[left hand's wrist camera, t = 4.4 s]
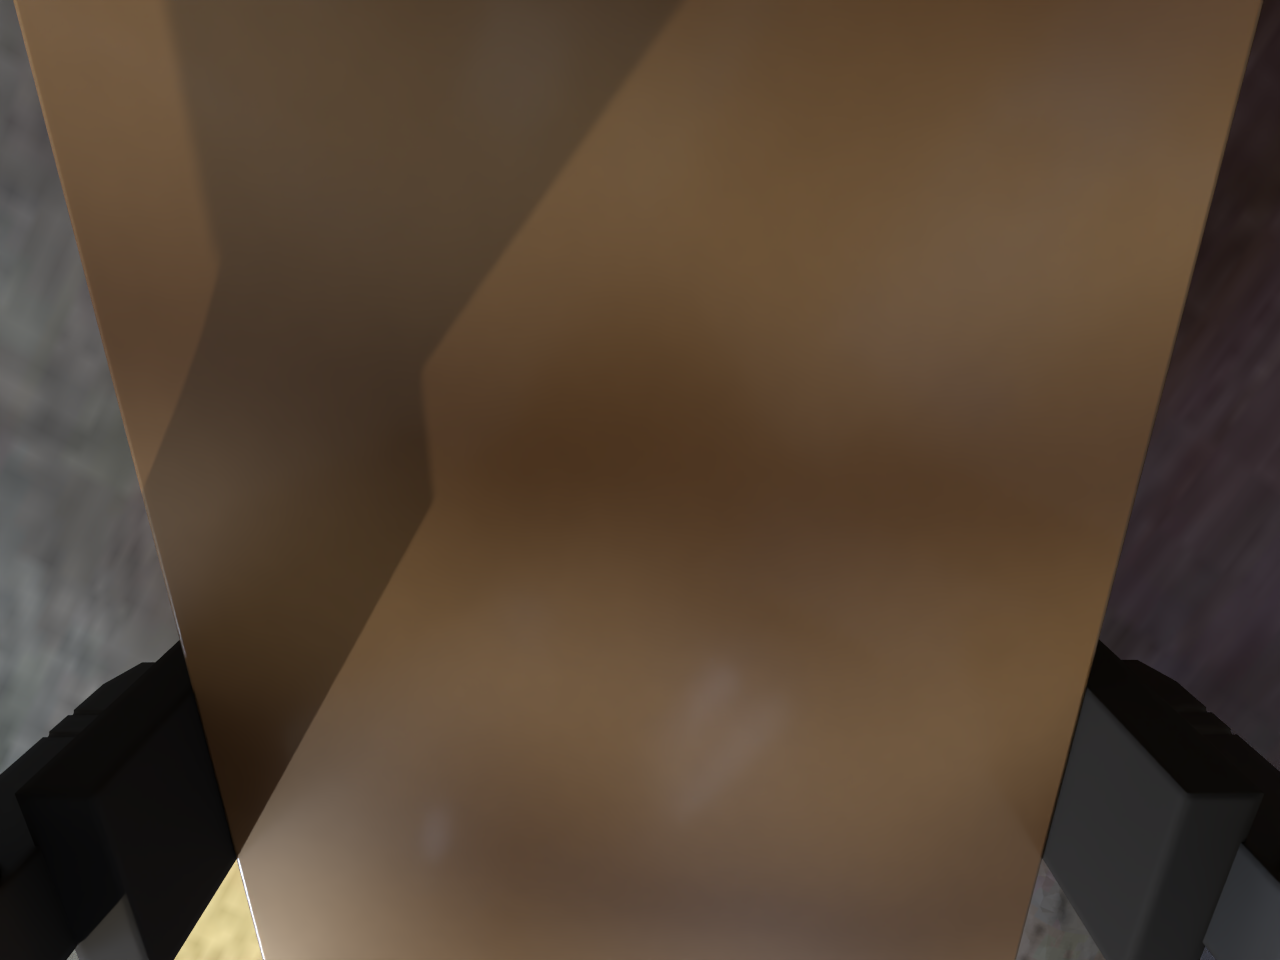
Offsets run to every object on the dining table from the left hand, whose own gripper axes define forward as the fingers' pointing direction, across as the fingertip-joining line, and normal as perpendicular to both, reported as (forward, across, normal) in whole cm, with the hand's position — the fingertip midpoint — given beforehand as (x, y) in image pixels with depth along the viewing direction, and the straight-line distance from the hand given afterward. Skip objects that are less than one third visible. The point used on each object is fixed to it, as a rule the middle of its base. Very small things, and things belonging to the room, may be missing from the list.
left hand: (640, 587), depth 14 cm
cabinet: (+6, 0, -5) cm, 8 cm away
